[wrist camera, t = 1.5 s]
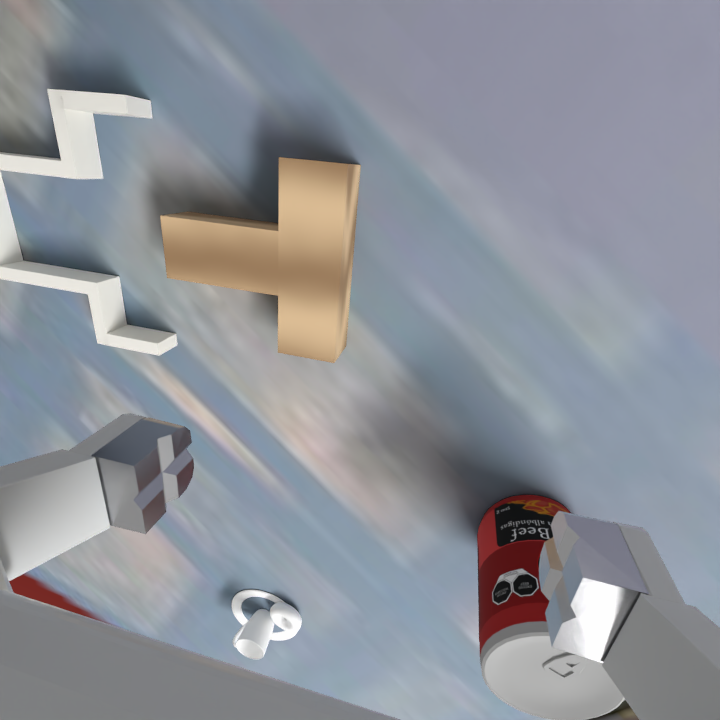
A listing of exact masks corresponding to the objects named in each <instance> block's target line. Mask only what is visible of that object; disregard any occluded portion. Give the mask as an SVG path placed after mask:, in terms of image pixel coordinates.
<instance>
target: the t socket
mask: <svg viewBox="0 0 720 720" xmlns="http://www.w3.org/2000/svg"><path fill="white" fill-rule="evenodd" d="M47 91H48V96H49V101H50V106H51V111H52V116H53V121H54V127H55V132H56V137H57V142H58V147H59V152H60V157H61V159H59V158H50V157H41V156H32V155H23V154H14V153H5V152H0V170H5V171H13V172H22V173H30V174H38V175H47V176H55V177H63V178H72V179H103V173H102V167H101V160H100V154H99V148H98V142H97V136H96V130H95V123H94V117H93V113H94V114H105V115H116V116H128V117H139V118H151V119H153V118H152V109H151V101H150V100H146V99H141V98H137V97H133V96H128V95H121V94H108V93H95V92H82V91H69V90H56V89H47ZM0 279H4V280H10V281H15V282H21V283H27V284H32V285H38V286H44V287H49V288H55V289H61V290H67V291H72V292H78V293H84V294H88V298H89V303H90V308H91V313H92V318H93V323H94V328H95V333H96V338H97V343H98V344H103V345H108V346H113V347H118V348H123V349H128V350H133V351H139V352H144V353H149V354H154V355H159V356H160V355H161V354H163V353H165V352H166V351H168V350H170V349H172V348H173V347H175V346H177V338H176V334H175V333H170V332H165V331H159V330H154V329H149V328H143V327H138V326H132V325H127V321H126V315H125V308H124V302H123V296H122V290H121V284H120V278H119V276H114V275H108V274H102V273H96V272H89V271H83V270H77V269H71V268H65V267H59V266H53V265H47V264H41V263H35V262H29V261H23V257H22V253H21V249H20V245H19V241H18V237H17V233H16V230H15V226H14V222H13V218H12V214H11V210H10V206H9V202H8V199H7V195H6V191H5V187H4V183H3V179H2V175H1V171H0Z"/></svg>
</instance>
